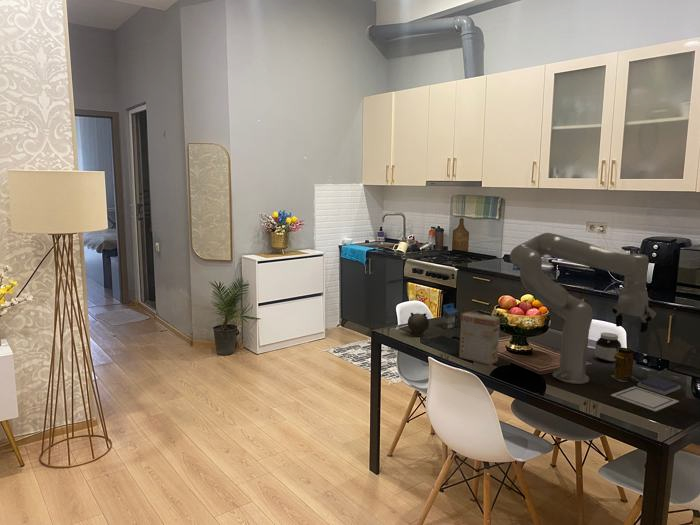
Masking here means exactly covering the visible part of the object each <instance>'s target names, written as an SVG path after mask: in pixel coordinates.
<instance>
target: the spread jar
mask: <svg viewBox="0 0 700 525" xmlns="http://www.w3.org/2000/svg"><path fill="white" fill-rule="evenodd" d="M618 339H619V335H618V334H616V333H611V332H601V333H600V337H599V338H598V339H597V341H596V343H595V345H594V346H595V348H594V356H595V358H596V359H597V360H598V361H599V362H602V363H606V364H614V363H615V364H616V356H617V354H618V349H619V348H622V344H621V342H620V341H619V340H618Z"/></svg>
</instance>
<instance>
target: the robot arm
mask: <svg viewBox="0 0 700 525" xmlns="http://www.w3.org/2000/svg"><path fill="white" fill-rule="evenodd" d="M546 255H547V256H550V257H553V258H555V259H560V260H563V261H567V262H570V263H574V264H577V265H581V266H584V267H588V268H595V269H599V270H603V271H606V272H610V273H613V274H617V275H621V276H624V280H621V282H620V284H621V285H623V287H621V289H620V292H619V295H618V299H617V301H616V302H613V303H611V304H610V307H611V310H612V313H613V314H614V316H615V327H617V328H618V327H622V326H623V315H626V316H631V317H637V318H640V319H641V321H642V322H640V330H639V331H640V333H643V334H644V333H645V332H647V331H648V326H649V323H650V321H652V320H653V319H654V318H655V316H656V315H657V312H656V311H655V310H653V309H652V308H651V307H649V295H648V290H647V281H648V280H647V279H648V269H649V256H648V255H646V254H641V253H629V254H627V253H619V252H615V251H613V250H609V249H605V248H602V247H600V246H597V245H594V244H591V243H588V242H585V241H583V240H582V241H581V240H578V239H574V238H571V237H567V236H564V235H561V234H557V233H552V232H544V233H540V234H538V235H536V236H535V237H533V238H530V239H528V240H526V241H525V242H523V243H521V244H518V245H517V246H514V248H513V249H512V250H511V252H510V255H509V260H510V262H511V263H512V265H513V266H515V267H516V268H519V270H520V271H519V276H520V281H521V284H522V285H523V287H524V288H525V289H526V290H527V291H529V292H530V293H531V294H532V295H534V297H535V300H537V301H538V302H539V303H540V304H541V305H542V306H544V307H546V308H547V309H549V310H550V311H552V312H553V313H554V314H556V315H557V316H559V317H560V318H562V319H563V320H565V323H564V325H563V328H562V332H561V341H560V342H561V344H560V353H559V354H560V356H559V367H558V368H557V370H556V371H554V372H552V377H554V378H556V379H557V381H558V380H559V381H561V382H564V383H567V384H568V383H569V384H575V385H582V384H583V385H584V384H588V383H589V381H590V376H588V375H586V367H587V359H588V358H587V356H588V347H589V335H590V329H591V324H592V321H593V318H594V311H593V308H592V306H590V304H589V303H587V302H586V301H584V300H581V299H580V298H578V297H576V296H573V295H571V294H570V293H569V292H568V291H567V289H566V288H564V286H562V285H560V284H559V283H557V282H555V281H554V280H553V279H551V278H550V277H548V276H547V275H546V274H545V273H544V272H543V267H542V264H543V260H542V257H544V256H546ZM648 313H649V316H648Z"/></svg>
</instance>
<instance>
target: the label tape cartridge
mask: <svg viewBox="0 0 700 525" xmlns="http://www.w3.org/2000/svg"><path fill="white" fill-rule="evenodd" d="M454 304H455V303H454V302H453V303H452V302H451V303H447V304H443V306H442V326H441V329H444V328H445V330H451V329H454V327H455V328H458V327H459V316H460V315H459V314H460V311H458V310H457V308H455V306H454ZM457 326H458V327H457ZM450 328H451V329H450Z"/></svg>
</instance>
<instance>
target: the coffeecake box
mask: <svg viewBox="0 0 700 525" xmlns="http://www.w3.org/2000/svg"><path fill="white" fill-rule="evenodd" d="M460 317H461V318H460V335H459V336H460V337H459V353H458V354H459V356H458V358H460V359H464V360H469V361H473V362H476V363H477V362H478V363H480V364H485V365H490V366H491V365H493V364H495V363H497V362H498V358H499V357H498V356H499V340H500V325H501V324H500V323H501V317H499V316H494V315H487V314H483V313H477V312H472V311H466V312H465V313H462V314H461V316H460Z"/></svg>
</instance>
